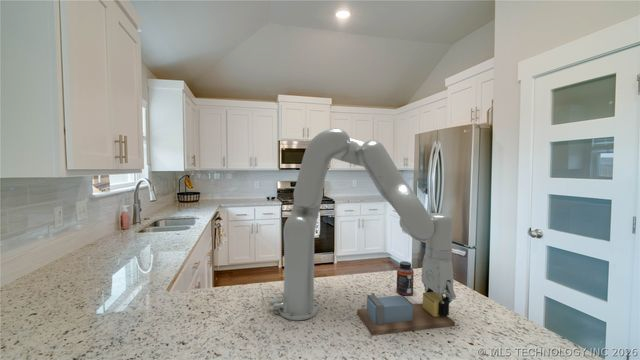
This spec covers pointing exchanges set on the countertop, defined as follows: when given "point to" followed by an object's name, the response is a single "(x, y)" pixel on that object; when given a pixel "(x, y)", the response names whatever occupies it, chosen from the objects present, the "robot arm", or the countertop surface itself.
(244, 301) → the countertop surface
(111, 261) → the countertop surface
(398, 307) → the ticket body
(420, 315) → the board
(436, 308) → the yellow block
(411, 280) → the supplement bottle
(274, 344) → the countertop surface
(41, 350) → the countertop surface
